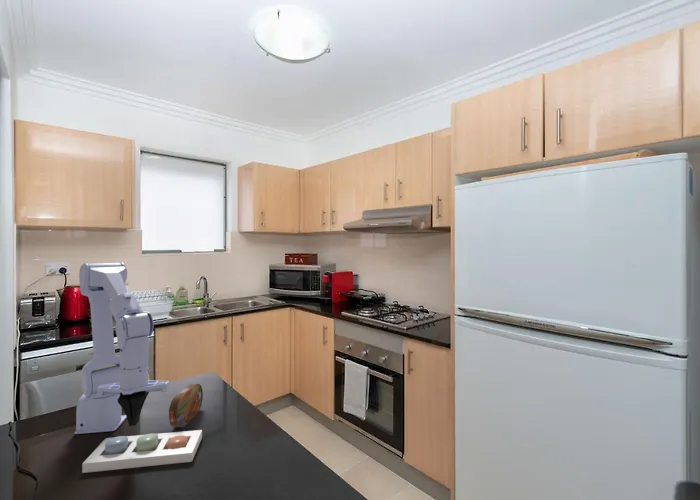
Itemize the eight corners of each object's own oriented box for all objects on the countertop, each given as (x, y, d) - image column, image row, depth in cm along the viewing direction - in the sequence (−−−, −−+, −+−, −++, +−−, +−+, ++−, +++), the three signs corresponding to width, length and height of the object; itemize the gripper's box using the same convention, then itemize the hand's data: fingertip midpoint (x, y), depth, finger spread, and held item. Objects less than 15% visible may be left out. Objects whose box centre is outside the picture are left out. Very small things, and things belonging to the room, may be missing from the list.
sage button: (133, 455, 78) (133, 444, 78) (140, 444, 83) (140, 434, 83) (154, 453, 79) (154, 442, 79) (160, 442, 84) (160, 432, 84)
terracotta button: (164, 456, 80) (164, 446, 80) (170, 446, 84) (170, 436, 84) (184, 454, 80) (184, 444, 80) (189, 444, 85) (189, 434, 85)
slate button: (101, 458, 77) (101, 447, 77) (110, 447, 81) (110, 436, 81) (122, 456, 78) (122, 445, 78) (131, 445, 82) (131, 435, 82)
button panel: (82, 472, 74) (82, 463, 74) (105, 446, 84) (105, 438, 84) (192, 461, 78) (192, 452, 78) (202, 437, 88) (202, 429, 88)
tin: (178, 433, 90) (178, 401, 90) (166, 433, 90) (166, 401, 90) (203, 406, 105) (204, 379, 105) (193, 406, 105) (193, 379, 105)
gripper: (89, 373, 75) (89, 435, 75) (162, 369, 78) (162, 429, 78) (105, 362, 82) (105, 419, 82) (172, 359, 85) (171, 414, 85)
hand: (133, 423), depth 80 cm, fingers closed
